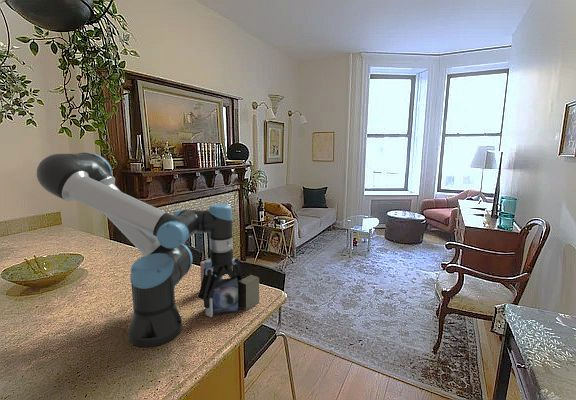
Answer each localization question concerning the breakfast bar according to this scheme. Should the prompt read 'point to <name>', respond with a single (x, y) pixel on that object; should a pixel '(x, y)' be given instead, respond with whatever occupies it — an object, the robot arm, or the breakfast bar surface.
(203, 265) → the standing books
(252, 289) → the bookend
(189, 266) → the robot arm
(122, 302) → the breakfast bar surface
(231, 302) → the small box
